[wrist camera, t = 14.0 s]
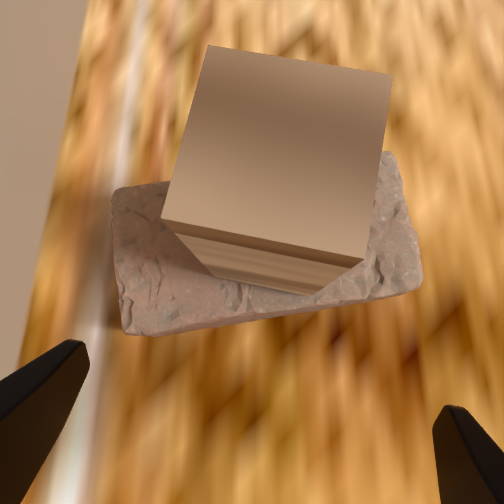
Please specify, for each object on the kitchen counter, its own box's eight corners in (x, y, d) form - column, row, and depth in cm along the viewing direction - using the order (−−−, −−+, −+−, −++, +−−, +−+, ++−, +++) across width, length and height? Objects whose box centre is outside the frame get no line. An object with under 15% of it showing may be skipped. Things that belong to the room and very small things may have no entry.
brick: (377, 172, 24) (401, 135, 20) (409, 297, 23) (443, 288, 18) (134, 214, 25) (102, 187, 20) (145, 339, 23) (113, 341, 18)
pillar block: (310, 296, 18) (364, 258, 9) (214, 276, 19) (160, 218, 9) (327, 203, 19) (393, 75, 10) (235, 185, 20) (208, 45, 10)
